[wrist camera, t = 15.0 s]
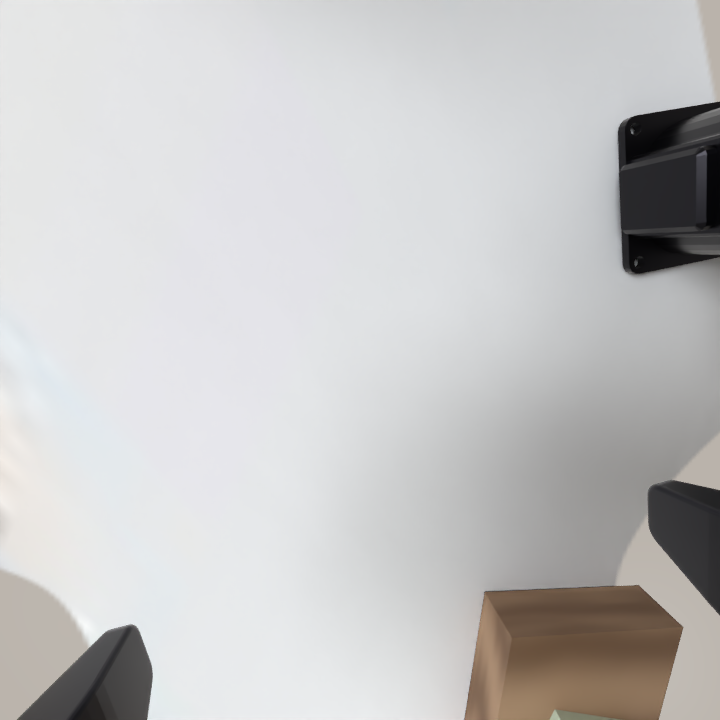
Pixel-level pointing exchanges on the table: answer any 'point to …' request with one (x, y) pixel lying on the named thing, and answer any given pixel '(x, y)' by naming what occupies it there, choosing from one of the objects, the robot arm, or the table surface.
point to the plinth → (572, 654)
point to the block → (575, 716)
